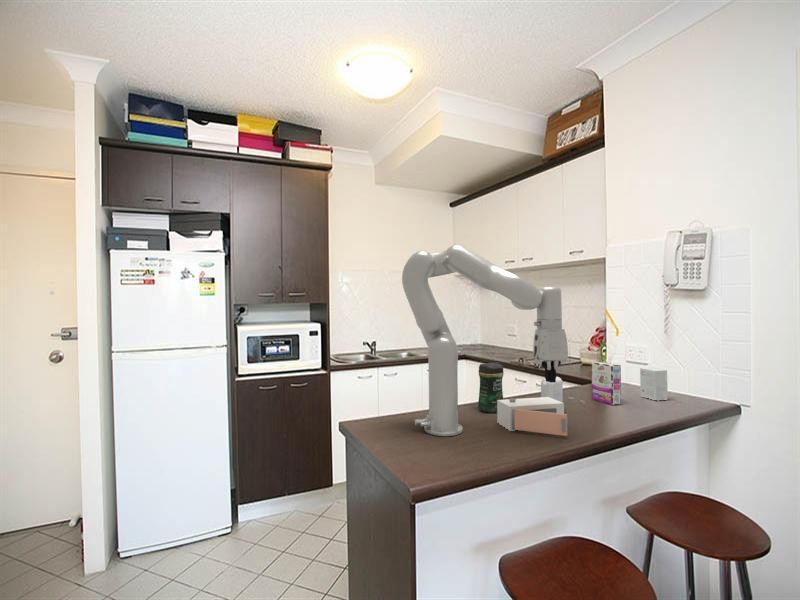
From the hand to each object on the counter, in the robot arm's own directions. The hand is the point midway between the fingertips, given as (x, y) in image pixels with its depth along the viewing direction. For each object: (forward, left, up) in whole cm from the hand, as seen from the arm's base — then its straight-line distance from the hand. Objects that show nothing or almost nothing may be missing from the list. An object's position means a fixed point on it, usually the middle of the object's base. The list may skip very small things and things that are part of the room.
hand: (550, 381), depth 123 cm
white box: (-1, +9, -17) cm, 19 cm away
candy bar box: (+46, +30, -17) cm, 57 cm away
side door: (-5, -1, -16) cm, 17 cm away
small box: (+70, +30, -17) cm, 78 cm away
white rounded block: (+19, +28, -17) cm, 38 cm away
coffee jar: (-7, +29, -17) cm, 34 cm away
